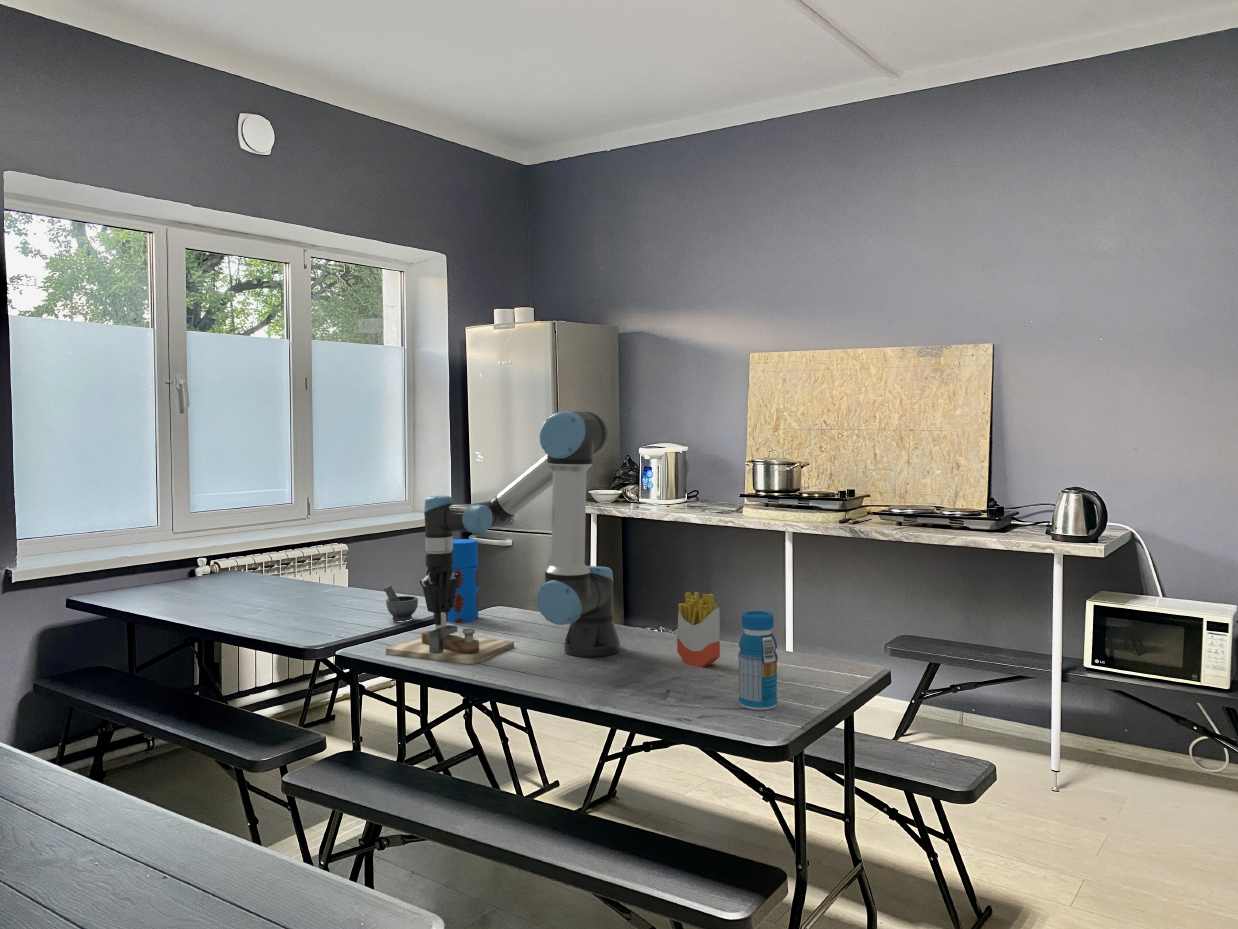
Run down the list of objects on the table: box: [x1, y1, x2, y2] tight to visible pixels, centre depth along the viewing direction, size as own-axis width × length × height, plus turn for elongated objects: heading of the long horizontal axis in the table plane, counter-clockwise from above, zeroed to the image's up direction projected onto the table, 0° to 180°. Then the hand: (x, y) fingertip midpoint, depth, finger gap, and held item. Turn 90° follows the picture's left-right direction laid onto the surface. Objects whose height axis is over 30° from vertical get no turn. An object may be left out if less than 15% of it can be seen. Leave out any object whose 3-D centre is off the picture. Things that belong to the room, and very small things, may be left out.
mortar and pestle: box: [382, 584, 419, 622], centre depth 279 cm, size 11×9×12 cm
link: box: [421, 627, 479, 654], centre depth 238 cm, size 22×5×6 cm, turn 50°
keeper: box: [429, 624, 458, 653], centre depth 236 cm, size 3×9×6 cm, turn 156°
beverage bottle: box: [737, 610, 779, 711], centre depth 190 cm, size 8×8×20 cm
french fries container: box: [676, 591, 721, 668], centre depth 224 cm, size 5×11×18 cm, turn 43°
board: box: [385, 634, 515, 665], centre depth 240 cm, size 28×20×2 cm
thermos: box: [447, 538, 480, 624], centre depth 280 cm, size 11×11×25 cm
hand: (441, 635), depth 245 cm, fingers closed
